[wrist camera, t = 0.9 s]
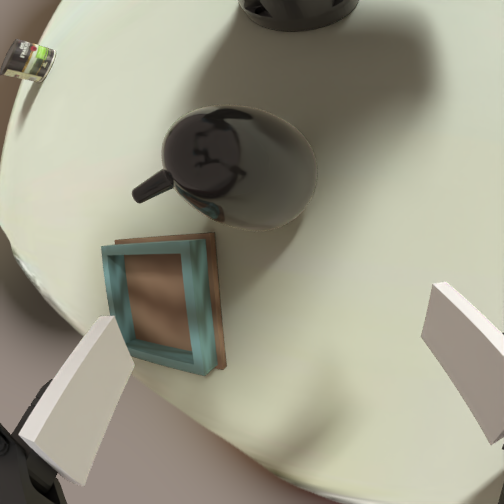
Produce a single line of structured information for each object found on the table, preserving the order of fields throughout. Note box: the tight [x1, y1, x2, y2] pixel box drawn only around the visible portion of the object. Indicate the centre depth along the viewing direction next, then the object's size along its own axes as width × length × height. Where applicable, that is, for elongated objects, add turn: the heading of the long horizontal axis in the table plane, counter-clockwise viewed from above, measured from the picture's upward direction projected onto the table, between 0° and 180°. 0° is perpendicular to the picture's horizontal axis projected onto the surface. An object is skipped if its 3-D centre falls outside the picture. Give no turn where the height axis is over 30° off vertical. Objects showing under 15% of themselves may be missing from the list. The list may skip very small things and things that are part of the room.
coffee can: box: [0, 39, 56, 83], centre depth 41 cm, size 10×10×14 cm
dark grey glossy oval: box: [132, 104, 317, 231], centre depth 21 cm, size 10×10×15 cm
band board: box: [101, 233, 227, 376], centre depth 33 cm, size 16×16×4 cm
